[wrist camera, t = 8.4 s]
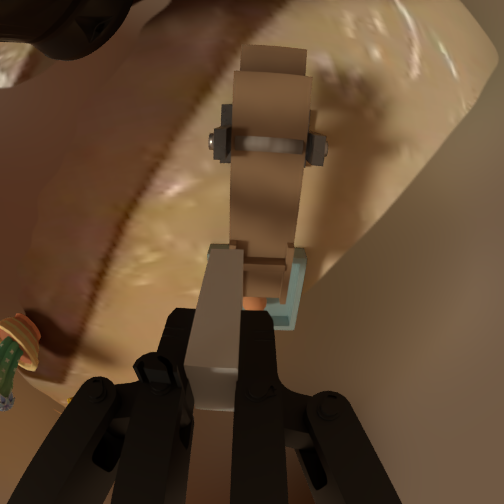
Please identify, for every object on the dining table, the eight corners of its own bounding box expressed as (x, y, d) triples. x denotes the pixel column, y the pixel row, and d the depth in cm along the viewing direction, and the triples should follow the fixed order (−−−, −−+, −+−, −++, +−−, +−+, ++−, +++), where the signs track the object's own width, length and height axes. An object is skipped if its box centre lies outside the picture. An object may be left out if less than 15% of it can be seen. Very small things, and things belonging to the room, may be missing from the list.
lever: (238, 49, 19) (234, 39, 15) (305, 54, 20) (317, 46, 15) (232, 273, 33) (228, 303, 28) (282, 275, 33) (286, 305, 29)
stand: (222, 104, 28) (204, 99, 18) (308, 110, 28) (338, 109, 18) (220, 161, 32) (203, 187, 21) (304, 166, 32) (329, 195, 21)
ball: (242, 284, 40) (241, 297, 36) (267, 285, 40) (268, 298, 36) (242, 304, 41) (241, 318, 38) (265, 305, 41) (266, 319, 38)
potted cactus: (36, 353, 53) (-1, 421, 31) (0, 310, 46) (-46, 375, 24) (60, 344, 50) (17, 427, 28) (18, 294, 43) (-41, 372, 21)
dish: (210, 243, 37) (207, 254, 34) (303, 248, 37) (307, 258, 35) (213, 314, 43) (210, 326, 40) (292, 318, 43) (293, 330, 41)
